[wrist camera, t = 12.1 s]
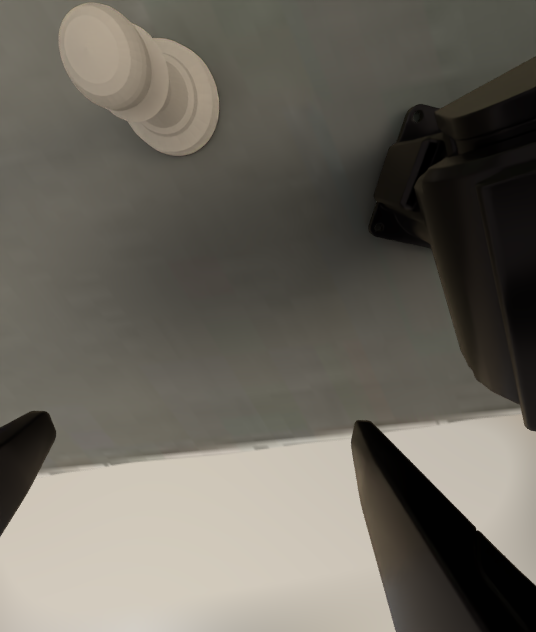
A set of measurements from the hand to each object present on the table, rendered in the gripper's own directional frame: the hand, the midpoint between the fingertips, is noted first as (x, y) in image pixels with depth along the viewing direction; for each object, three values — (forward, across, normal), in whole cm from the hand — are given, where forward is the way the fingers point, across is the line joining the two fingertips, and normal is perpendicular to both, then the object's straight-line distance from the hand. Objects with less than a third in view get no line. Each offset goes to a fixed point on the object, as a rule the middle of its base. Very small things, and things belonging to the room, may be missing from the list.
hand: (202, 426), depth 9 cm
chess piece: (+12, +3, -10) cm, 16 cm away
